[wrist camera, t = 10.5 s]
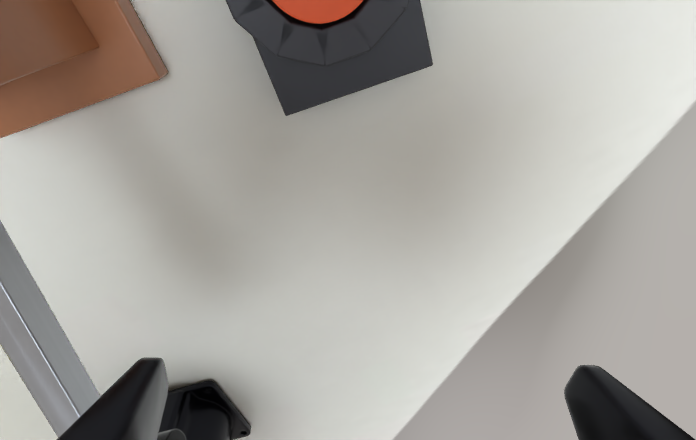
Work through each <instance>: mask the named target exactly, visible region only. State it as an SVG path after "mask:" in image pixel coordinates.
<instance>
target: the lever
mask: <svg viewBox="0 0 696 440" xmlns="http://www.w3.org/2000/svg"><path fill="white" fill-rule="evenodd" d="M0 345H1V346H2V348H3V349H4V351H5V353H6V354H7V356H8V357H9V359H10V361H11V362H12V364H13V366H14V367H15V369H16V370H17V372H18V374H19V375H20V377H21V378H22V380H23V382H24V383H25V385H26V386H27V388H28V390H29V391H30V393H31V394H32V396H33V398H34V399H35V401H36V403H37V404H38V406H39V407H40V409H41V411H42V412H43V414H44V415H45V417H46V419H47V420H48V422H49V423H50V425H51V427H52V428H53V430H54V432H55V433H56V435H57V436H58V438H59V437H60V436H61V435H62V434H63V433H64V432H65V431H66V430H67V429H68V428H69V427H70V426H71V425H72V424H73V423H74V422H75V421H76V420H77V419H78V418H79V417H80V416H81V415H82V414H83V413H84V412H85V411H87V410H88V409H89V408H90V407H91V406H92V405H93V404H94V403H95V402H96V401H97V400H98V399H99V398H100V397H101V396H100V394H99V393H98V391H97V389H96V387H95V386H94V384H93V382H92V380H91V378H90V377H89V375H88V373H87V371H86V370H85V368H84V366H83V364H82V363H81V361H80V359H79V357H78V356H77V354H76V352H75V350H74V349H73V347H72V345H71V343H70V342H69V340H68V338H67V336H66V335H65V333H64V331H63V329H62V328H61V326H60V324H59V322H58V321H57V319H56V317H55V315H54V314H53V312H52V310H51V308H50V307H49V305H48V303H47V301H46V300H45V298H44V296H43V294H42V293H41V291H40V289H39V287H38V286H37V284H36V282H35V280H34V279H33V277H32V275H31V273H30V271H29V270H28V268H27V266H26V264H25V263H24V261H23V259H22V257H21V256H20V254H19V252H18V250H17V249H16V247H15V245H14V243H13V242H12V240H11V238H10V236H9V235H8V233H7V231H6V229H5V228H4V226H3V224H2V222H1V221H0ZM157 440H186V437H185V435H184V433H183V432H182V431H181V430H179V429H172V430H168V431H164V432H161V433H158V437H157Z"/></svg>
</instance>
